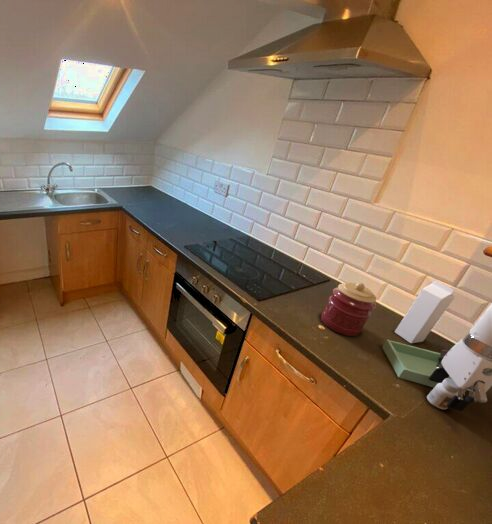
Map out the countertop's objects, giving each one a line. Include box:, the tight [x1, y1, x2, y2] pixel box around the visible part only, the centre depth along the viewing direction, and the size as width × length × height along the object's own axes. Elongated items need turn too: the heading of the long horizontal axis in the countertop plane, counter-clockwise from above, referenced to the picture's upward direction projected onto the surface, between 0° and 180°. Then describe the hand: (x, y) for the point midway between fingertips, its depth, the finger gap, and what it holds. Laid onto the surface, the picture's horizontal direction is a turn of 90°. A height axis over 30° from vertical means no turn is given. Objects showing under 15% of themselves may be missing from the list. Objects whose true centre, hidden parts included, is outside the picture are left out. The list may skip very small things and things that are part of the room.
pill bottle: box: [426, 378, 459, 410], centre depth 79 cm, size 4×4×8 cm
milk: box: [394, 279, 455, 344], centre depth 101 cm, size 6×6×22 cm
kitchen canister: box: [320, 282, 377, 337], centre depth 104 cm, size 13×13×18 cm
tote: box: [381, 339, 468, 392], centre depth 91 cm, size 16×14×3 cm
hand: (444, 394), depth 80 cm, fingers open, 8 cm apart
